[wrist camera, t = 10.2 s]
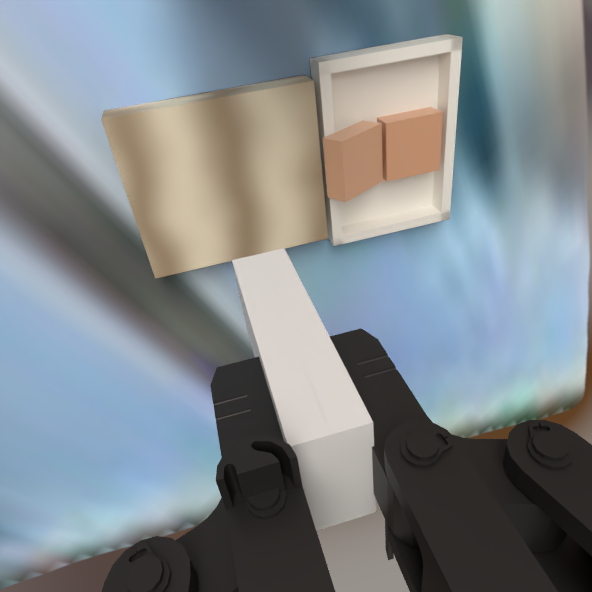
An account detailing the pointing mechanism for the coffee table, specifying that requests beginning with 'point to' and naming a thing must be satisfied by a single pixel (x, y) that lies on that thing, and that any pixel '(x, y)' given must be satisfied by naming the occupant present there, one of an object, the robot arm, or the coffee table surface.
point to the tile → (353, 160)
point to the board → (222, 172)
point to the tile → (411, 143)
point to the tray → (381, 102)
